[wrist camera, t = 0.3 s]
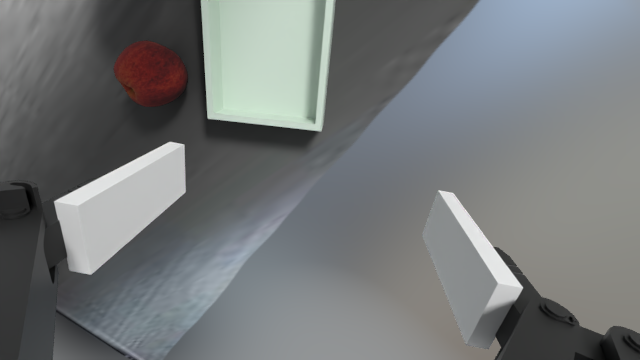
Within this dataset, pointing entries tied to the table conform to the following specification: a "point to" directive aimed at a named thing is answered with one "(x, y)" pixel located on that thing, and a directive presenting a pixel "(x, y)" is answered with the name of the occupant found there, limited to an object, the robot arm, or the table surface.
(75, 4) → the table surface
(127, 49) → the apple
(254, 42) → the tote
